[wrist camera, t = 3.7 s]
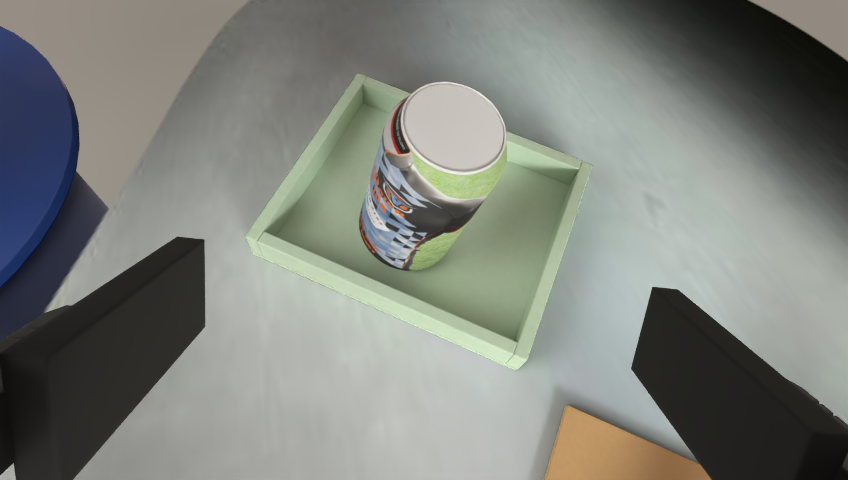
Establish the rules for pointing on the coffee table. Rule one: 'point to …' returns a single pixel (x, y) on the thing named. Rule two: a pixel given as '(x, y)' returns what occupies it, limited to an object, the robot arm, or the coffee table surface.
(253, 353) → the coffee table surface
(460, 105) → the beverage can
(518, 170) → the tray
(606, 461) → the coaster
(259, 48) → the coffee table surface
